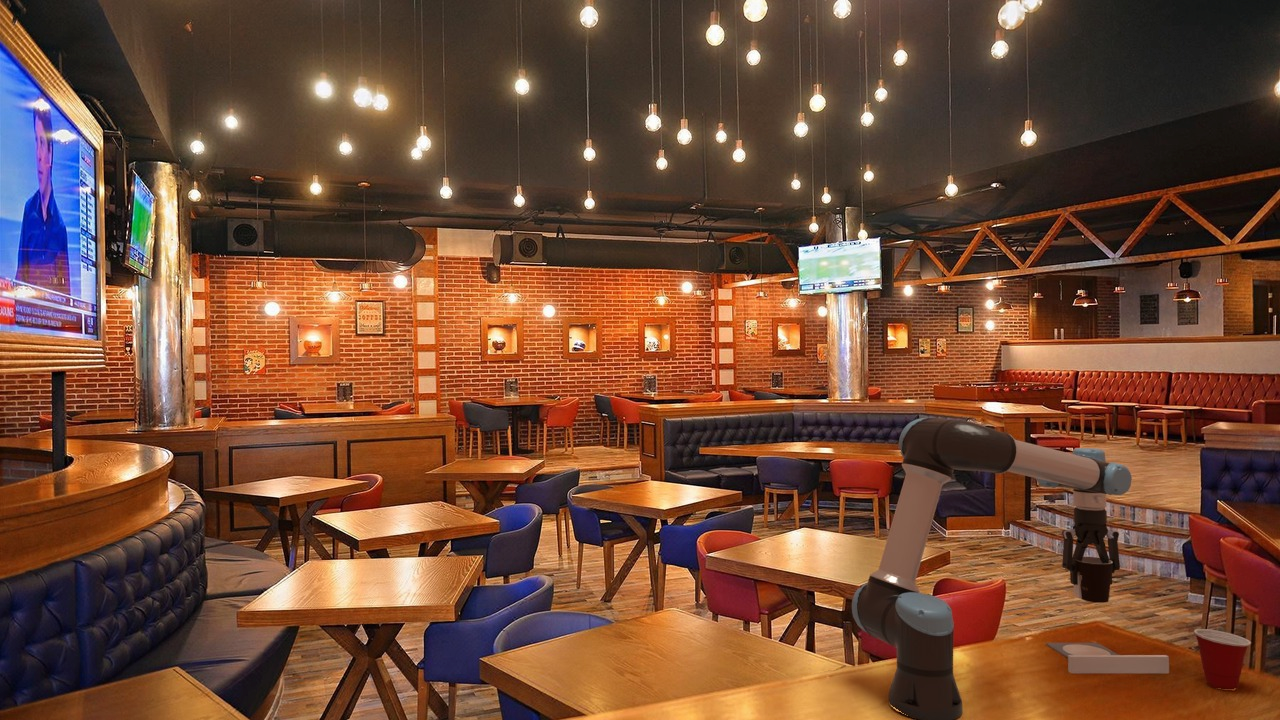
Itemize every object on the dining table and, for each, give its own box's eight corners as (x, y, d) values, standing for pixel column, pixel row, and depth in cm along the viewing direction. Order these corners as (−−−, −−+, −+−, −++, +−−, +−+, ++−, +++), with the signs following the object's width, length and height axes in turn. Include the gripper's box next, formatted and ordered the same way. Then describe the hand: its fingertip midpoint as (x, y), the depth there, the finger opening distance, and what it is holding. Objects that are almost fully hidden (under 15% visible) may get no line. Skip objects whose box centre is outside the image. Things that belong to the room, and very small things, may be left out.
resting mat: (1074, 662, 202) (1074, 660, 202) (1046, 644, 216) (1046, 642, 216) (1129, 662, 202) (1129, 660, 202) (1097, 644, 216) (1097, 642, 216)
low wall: (1071, 673, 194) (1070, 656, 195) (1068, 671, 196) (1068, 655, 196) (1169, 673, 195) (1168, 656, 195) (1165, 671, 196) (1165, 655, 196)
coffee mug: (1112, 605, 200) (1112, 565, 200) (1073, 600, 205) (1073, 561, 205) (1114, 595, 210) (1113, 556, 210) (1077, 590, 214) (1076, 553, 215)
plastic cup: (1262, 697, 180) (1261, 643, 180) (1208, 693, 182) (1207, 640, 182) (1236, 679, 190) (1235, 629, 191) (1186, 676, 193) (1185, 626, 193)
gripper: (1060, 510, 204) (1061, 601, 203) (1136, 510, 204) (1137, 601, 203) (1045, 505, 212) (1046, 593, 211) (1118, 505, 211) (1120, 593, 211)
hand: (1091, 596), depth 207 cm, fingers closed on coffee mug, 6 cm apart
